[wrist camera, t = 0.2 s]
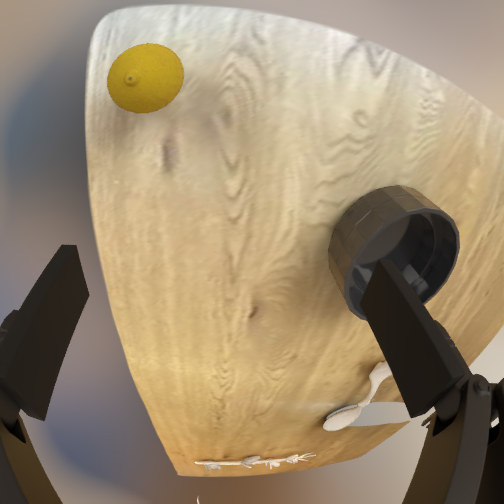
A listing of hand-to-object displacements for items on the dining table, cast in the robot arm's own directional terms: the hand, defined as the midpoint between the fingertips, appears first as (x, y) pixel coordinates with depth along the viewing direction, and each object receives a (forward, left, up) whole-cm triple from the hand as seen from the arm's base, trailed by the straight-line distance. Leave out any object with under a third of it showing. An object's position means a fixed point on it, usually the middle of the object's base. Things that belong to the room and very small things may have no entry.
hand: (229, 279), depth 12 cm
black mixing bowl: (+7, +20, -17) cm, 27 cm away
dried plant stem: (+89, +15, -17) cm, 92 cm away
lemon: (-8, -6, -17) cm, 20 cm away
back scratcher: (+45, +32, -17) cm, 58 cm away
